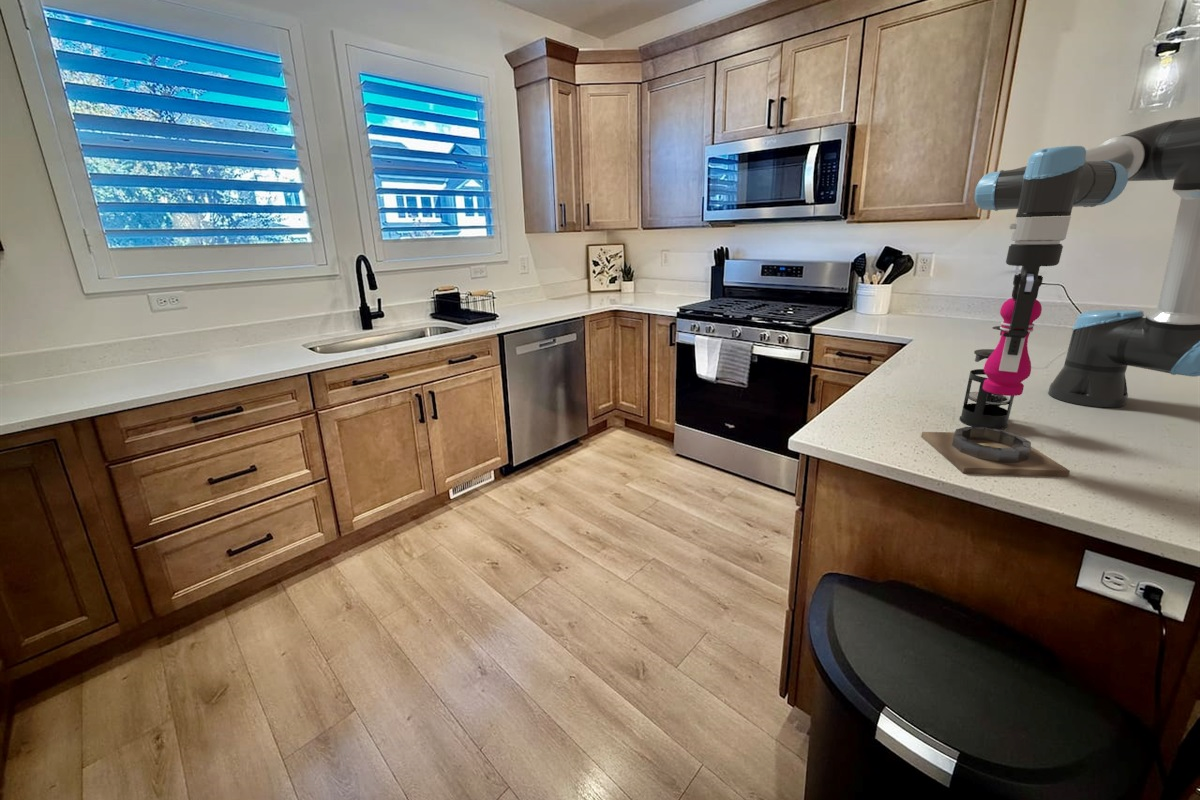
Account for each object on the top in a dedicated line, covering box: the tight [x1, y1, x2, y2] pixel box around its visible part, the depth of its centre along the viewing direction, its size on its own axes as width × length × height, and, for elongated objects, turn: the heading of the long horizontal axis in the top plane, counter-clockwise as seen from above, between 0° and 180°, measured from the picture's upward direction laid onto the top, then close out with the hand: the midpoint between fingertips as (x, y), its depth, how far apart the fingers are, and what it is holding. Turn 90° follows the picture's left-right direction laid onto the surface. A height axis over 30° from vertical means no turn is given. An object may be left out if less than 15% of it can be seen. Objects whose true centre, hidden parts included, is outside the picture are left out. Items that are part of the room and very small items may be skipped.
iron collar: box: [952, 426, 1032, 463], centre depth 104 cm, size 12×12×2 cm
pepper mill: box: [983, 297, 1043, 397], centre depth 97 cm, size 7×7×20 cm
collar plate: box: [920, 431, 1071, 477], centre depth 105 cm, size 18×18×1 cm
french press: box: [958, 325, 1015, 430], centre depth 118 cm, size 12×9×23 cm
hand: (1007, 366), depth 99 cm, fingers closed on pepper mill, 7 cm apart
